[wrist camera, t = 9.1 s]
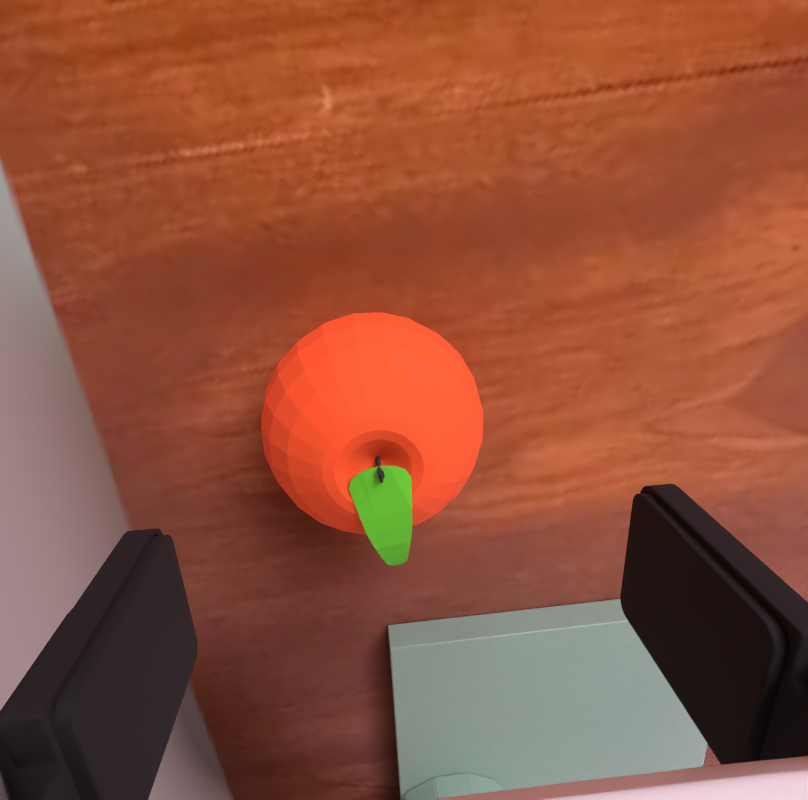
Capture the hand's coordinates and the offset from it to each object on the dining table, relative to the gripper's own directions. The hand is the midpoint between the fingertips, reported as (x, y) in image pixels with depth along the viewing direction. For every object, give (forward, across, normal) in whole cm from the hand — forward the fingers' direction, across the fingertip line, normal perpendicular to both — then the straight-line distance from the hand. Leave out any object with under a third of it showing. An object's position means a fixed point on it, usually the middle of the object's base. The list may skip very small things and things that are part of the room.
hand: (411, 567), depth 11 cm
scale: (+10, -8, +18) cm, 22 cm away
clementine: (+10, 0, 0) cm, 10 cm away
